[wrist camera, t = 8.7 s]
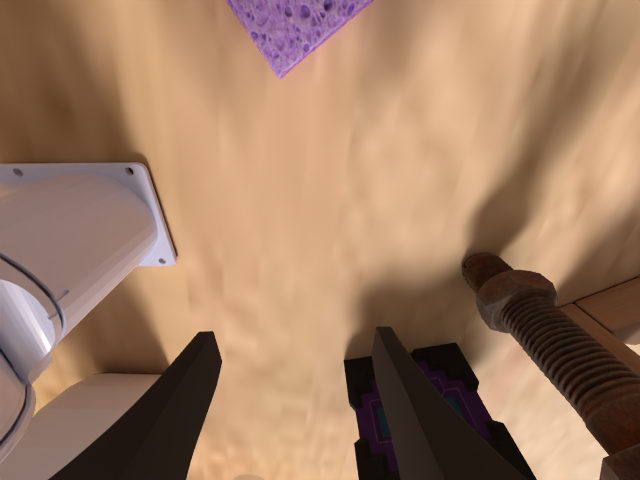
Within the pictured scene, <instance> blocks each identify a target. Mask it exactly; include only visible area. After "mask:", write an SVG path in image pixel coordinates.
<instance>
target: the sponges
mask: <svg viewBox="0 0 640 480" xmlns="http://www.w3.org/2000/svg"><path fill="white" fill-rule="evenodd" d="M226 1H227V3H228V4H229V5H230V7H231V9H232V10H233V12H234V13H235V15H236V16H237V17H238V19H239V20H240V22H241V23H242V25H243V26H244V28H245V29H246V31H247V32H248V34H249V35H250V37H251V38H252V40H253V41H254V42H255V44H256V45H257V47H258V48H259V50H260V52H261V53H262V55H263V56H264V58H265V59H266V60H267V62H268V63H269V65H270V67H271V68H272V69H273V71H274V73H275V74H276V76H277V77H278V78H279V79H281V78H282V77H283V76H284V75H286V74H287V73H288V72H289V71H290V70H291V69H293V68H294V67H295V66H296V65H297V64H298V63H299V62H300V61H302V60H303V59H304V58H305V57H306V56H307V55H308V54H309V53H311V52H313V51H314V50H315V49H316V48H317V47H319V46H320V45H321V44H322V43H323V42H325V41H326V40H327V39H328V38H329V37H330V36H331V35H332V34H334V33H335V32H336V31H337V30H339V29H340V28H341V27H342V26H343V25H345V24H346V23H347V22H348V21H349V20H350V19H352V18H353V17H354V16H355V15H356V14H358V13H359V12H360V11H361V10H362V9H363V8H364V7H366V6H367V5H369V4H370V3H371V2H372V1H373V0H226Z"/></svg>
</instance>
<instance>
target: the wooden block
mask: <svg viewBox="0 0 640 480" xmlns="http://www.w3.org/2000/svg"><path fill="white" fill-rule="evenodd" d="M559 308H560V310H562V311H563V312H564V313H565V314H566V315H568V316H569V317H570V318H571V319H572V320H573V321H574V322H575V323H577V324H579V326H580V327H581V328H583V329H584V330H585V331H586V332H587V333H589V334H590V335H591V336H592V337H593V338H595V339H596V340H597V341H598V343H600V344H602V345H603V346H604V348H606V349H607V350H609V351H610V352H611V353H612V354H613V355H614V356H615V357H616V358H617V359H618V360H620V361H622V362H623V363H624V364H625V366H627V367H629V368H630V369H631V370H632V372H635V373H636V374H637V375H638V376H639V378H640V356H639V355H638V354H636V353H635V352H634V351H633V350H631V349H630V348H629V347H628V346H626V345H625V344H630V345H637V344H640V277H638V278H636V279H633V280H631V281H628V282H625V283H623V284H620V285H618V286H615V287H612V288H610V289H607V290H605V291H602V292H599V293H597V294H594V295H592V296H589V297H586V298H584V299H581V300H579V301H577V302H575V305H574V304H572V303H571V304H567V305H564V306H562V307H559Z"/></svg>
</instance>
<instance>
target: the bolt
mask: <svg viewBox="0 0 640 480" xmlns="http://www.w3.org/2000/svg"><path fill="white" fill-rule="evenodd" d="M465 266H466V267H467V268H462V275H463V276H464V277H465V280H466V282H467V283H468V284H469V285H470V287H471V288H472V289H473V290H474V291H475V293H477V295H476V304H477V307H478V310H479V313H480V315H481V318H482V319H483V320H484V322H485V323H486V324H487V325H488V327H489V328H490V329H492V330H496V331H499V332H504V333H510V334H511V335H512V336H513V337H514V338H515V340H516V341H517V342H519V345H520V346H522V347H523V350H524V351H526V353H527V354H528V356H530V357H531V359H532V360H533V362H535V364H536V365H537V366H538V367H539V368H540V370H541V371H542V372H543V373H544V375H545V376H546V377H547V378H548V379H549V380H550V382H551V383H552V384H553V385H554V386H555V387H556V389H557V390H559V392H560V393H561V394H562V395H563V396H564V397H565V399H566V400H567V401H568V402H569V403H570V404H571V406H572V407H573V408H574V409H575V410H576V412H577V413H578V414H579V416H580V417H581V418H582V419H583V421H584V422H585V425H586V427H587V429H588V430H589V431H590V433H591V434H592V435H593V436H594V437H595V439H596V440H597V441H598V442H599V444H600V445H601V446H602V447H603V448H604V450H605V451H606V452H607V453H608V455H609V456H607V457H605V458H603V461H602V467H601V473H600V479H599V480H640V378H639V376H638V375H637V374H636V373H635V372H632V370H631V369H630V368H629V367H627V366H625V364H624V363H623V362H622V361H620V360H618V359H617V358H616V357H615V356H614V355H613V354H612V353H611V352H610V351H609V350H607V349H606V348H604V346H603V345H602V344H600V343H598V341H597V340H596V339H595V338H593V337H592V336H591V335H590V334H589V333H587V332H586V331H585V330H584V329H583V328H581V327H580V326H579V324H577V323H575V322H574V321H573V320H572V319H571V318H570V317H569V316H568V315H566V314H565V313H564V312H563V311H562V310H560V308H559V307H557V301H558V299H557V294H556V291H555V288H554V285H553V283H552V282H550V281H549V280H548V279H546V278H545V277H544V276H542V275H541V274H540V273H536V272H531V271H525V270H513V269H512V268H511V267H510V266H509V265H508V264H506V263H505V262H504V261H503V260H502V259H501V258H499V257H498V256H496V255H494V254H492V253H484V254H478V255H474V256H472V257H470V258H469V259H468V260H467V261H466V264H465Z"/></svg>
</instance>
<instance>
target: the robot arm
mask: <svg viewBox="0 0 640 480" xmlns="http://www.w3.org/2000/svg"><path fill="white" fill-rule="evenodd" d="M129 168H131V169H132V170H133V172H134V174H132V173H131V172H130V171H129ZM20 170H21V172H22V173H23V174H22V173H21V172H20ZM161 258H163V259H165V261H163V260H162V259H161ZM176 262H177V257H176V254H175V251H174V248H173V245H172V241H171V238H170V235H169V232H168V229H167V226H166V223H165V220H164V217H163V214H162V211H161V208H160V205H159V202H158V199H157V196H156V193H155V190H154V187H153V184H152V181H151V178H150V175H149V172H148V169H147V167H146V166H145V165H144V164H142V163H139V162H116V163H14V164H0V463H1V462H2V461H3V460H4V459H5V458H6V457H7V455H8V454H9V453H10V452H11V451H12V450H13V448H14V447H15V446H16V444H17V443H18V441H19V440H20V439H21V437H22V436H23V434H24V433H25V431H26V429H27V427H28V425H29V424H30V421H31V419H32V416H33V414H34V411H35V404H36V396H35V391H34V389H33V387H32V385H31V384H32V383H33V382H34V381H35V380H36V379H37V378H38V377H39V376H40V375H41V374H42V373H43V372H44V371H45V370H46V369H47V368H48V367H49V366H50V365H51V364H52V363H53V361H52V359H51V351H52V349H53V348H54V347H55V346H56V345H57V344H58V343H59V342H60V341H61V340H62V339H63V338H64V337H65V336H66V335H67V334H68V333H69V332H70V331H71V330H72V329H73V328H74V327H75V326H76V325H77V324H78V323H79V322H80V321H81V320H82V319H83V318H84V317H85V316H86V315H87V314H88V313H89V312H90V311H91V310H92V309H93V308H94V307H95V306H96V305H97V304H98V303H99V302H100V301H101V300H103V299H104V298H105V297H106V296H107V295H108V294H109V293H110V292H111V291H112V290H113V289H114V288H115V287H116V286H117V285H118V284H119V283H120V282H121V281H122V280H123V279H124V278H125V277H126V276H127V275H128V274H129V273H130V272H131V271H132V270H133V269H134V268H135V267H137V266H172V265H174V264H175V263H176ZM372 361H373V367H374V373H375V378H376V383H377V387H378V390H379V394H380V398H381V401H382V405H383V408H384V412H385V415H386V419H387V423H388V426H389V430H390V433H391V437H392V441H393V445H394V449H395V454H396V459H397V464H398V469H399V474H400V479H401V480H527V479H526V478H525V477H524V476H523V475H522V474H520V473H519V472H518V471H517V470H516V469H515V468H514V467H513V466H511V465H510V464H509V463H508V462H507V461H506V460H505V459H504V458H503V457H502V456H501V455H499V454H498V453H497V452H496V451H495V450H494V449H493V448H492V447H491V446H490V445H489V444H488V443H487V442H486V441H485V440H484V439H482V438H481V437H480V436H479V435H478V434H477V433H476V432H475V431H474V430H473V429H472V428H471V427H470V426H469V425H468V424H467V423H466V422H465V420H464V419H463V418H462V417H461V416H460V415H459V414H458V413H457V412H456V411H455V410H454V409H453V408H452V407H451V405H450V404H449V403H448V402H447V401H446V400H445V399H444V398H443V396H442V395H441V394H440V393H439V392H438V391H437V389H436V388H435V387H434V386H433V385H432V383H431V382H430V381H429V380H428V378H427V377H426V376H425V375H424V373H423V372H422V371H421V369H420V368H419V367H418V365H417V364H416V363H415V361H414V360H413V359H412V357H411V356H410V355H409V353H408V352H407V350H406V349H405V348H404V346H403V345H402V343H401V342H400V340H399V339H398V337H397V336H396V334H395V333H394V331H393V329H392V328H391V327H376V332H375V339H374V346H373V352H372ZM221 364H222V359H221V356H220V352H219V349H218V346H217V342H216V339H215V335H214V332H213V331H210V332H199V333H198V334H197V335H196V336H195V337H194V338H193V339H192V340H191V342H190V343H189V344H188V345H187V346H186V348H185V349H184V350H183V351H182V352H181V353H180V355H179V356H178V357H177V358H176V359H175V360H174V362H173V363H172V364H171V365H170V366H169V367H168V368H167V369H166V371H165V372H164V373H163V374H162V375H161V376H160V377H159V378H158V379H157V380H156V382H155V383H154V384H153V385H152V386H151V387H150V388H149V389H148V390H147V391H146V392H145V393H144V394H143V395H142V396H141V397H140V398H139V399H138V400H137V401H136V402H135V403H134V404H133V405H132V406H131V407H130V408H129V409H128V410H127V411H126V412H125V413H124V414H123V415H122V416H121V417H120V418H119V419H118V420H117V421H116V422H115V423H114V424H113V425H112V426H110V427H109V428H108V429H107V430H106V431H105V432H104V433H103V434H102V435H101V436H99V437H98V438H97V439H96V440H95V441H94V442H93V443H91V444H90V445H89V446H88V447H87V448H86V449H85V450H83V451H82V452H81V453H80V454H79V455H78V456H76V457H75V458H74V459H73V460H72V461H70V462H69V463H68V464H67V465H66V466H64V467H63V468H62V469H61V470H59V471H58V472H57V473H56V474H54V475H53V476H52V477H50V478H49V479H48V480H186V477H187V474H188V470H189V466H190V462H191V459H192V455H193V452H194V449H195V446H196V443H197V440H198V437H199V435H200V432H201V429H202V426H203V423H204V420H205V418H206V415H207V412H208V409H209V406H210V403H211V401H212V398H213V395H214V392H215V389H216V386H217V382H218V378H219V374H220V369H221Z"/></svg>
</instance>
